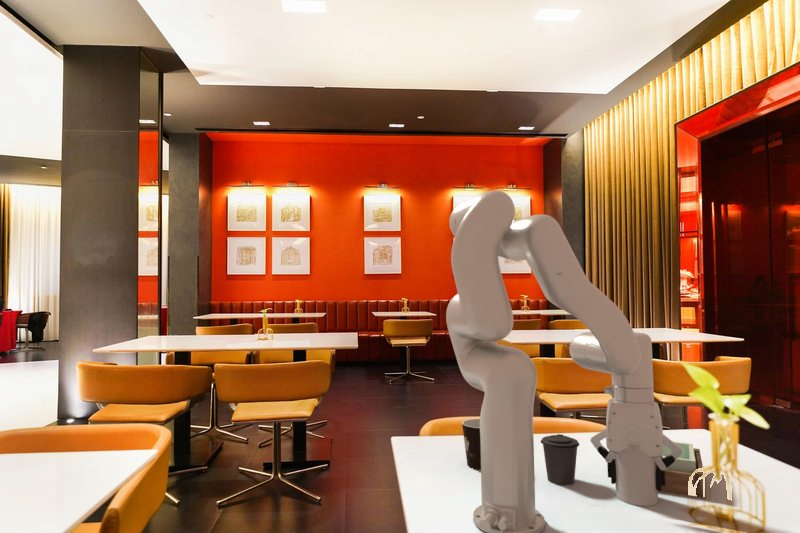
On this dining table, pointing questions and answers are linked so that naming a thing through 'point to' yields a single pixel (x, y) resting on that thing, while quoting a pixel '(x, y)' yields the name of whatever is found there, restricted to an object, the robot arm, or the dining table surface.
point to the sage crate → (682, 458)
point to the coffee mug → (472, 442)
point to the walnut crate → (684, 479)
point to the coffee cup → (560, 458)
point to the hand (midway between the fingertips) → (636, 484)
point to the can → (636, 477)
